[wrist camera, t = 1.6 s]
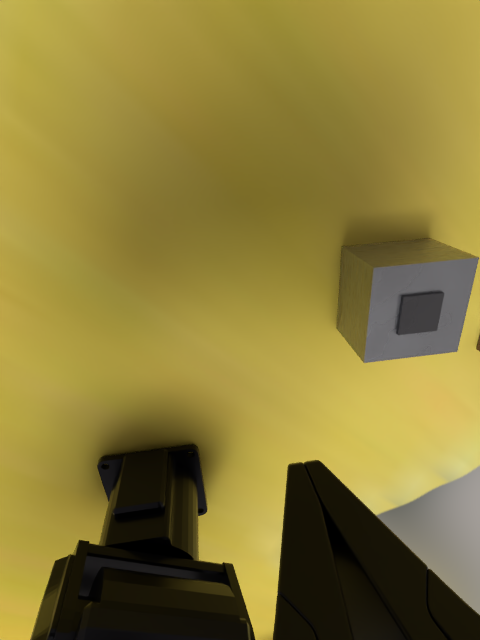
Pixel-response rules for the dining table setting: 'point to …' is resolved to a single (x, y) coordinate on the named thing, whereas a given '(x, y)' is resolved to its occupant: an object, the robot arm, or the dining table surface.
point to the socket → (403, 298)
